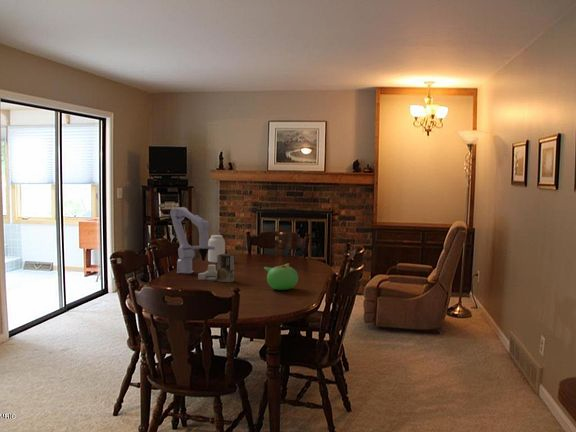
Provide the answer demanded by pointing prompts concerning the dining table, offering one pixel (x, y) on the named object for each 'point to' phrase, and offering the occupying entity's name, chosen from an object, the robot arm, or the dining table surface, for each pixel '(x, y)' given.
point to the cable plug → (202, 276)
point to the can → (216, 247)
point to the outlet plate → (211, 273)
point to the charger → (211, 268)
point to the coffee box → (225, 268)
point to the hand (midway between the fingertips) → (203, 260)
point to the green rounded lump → (281, 277)
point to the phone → (211, 279)
